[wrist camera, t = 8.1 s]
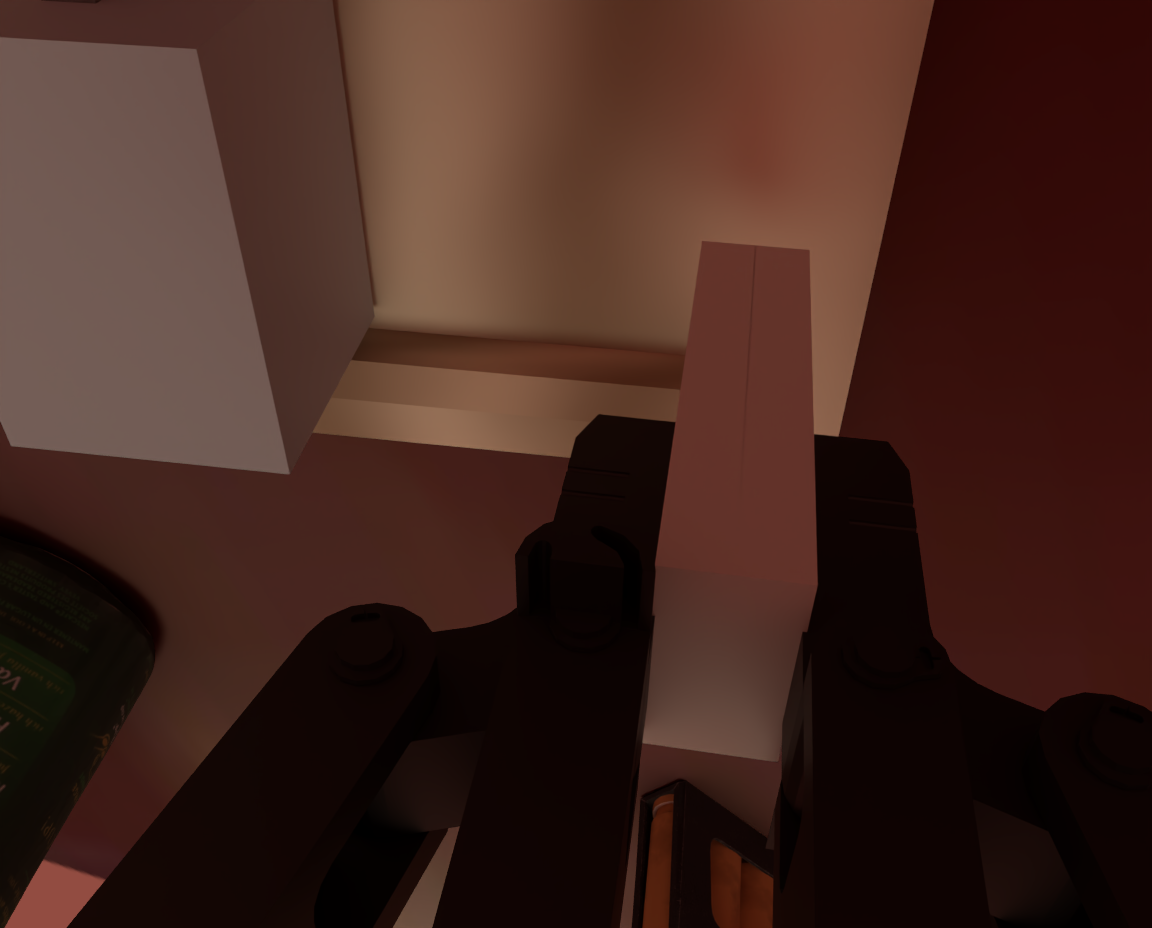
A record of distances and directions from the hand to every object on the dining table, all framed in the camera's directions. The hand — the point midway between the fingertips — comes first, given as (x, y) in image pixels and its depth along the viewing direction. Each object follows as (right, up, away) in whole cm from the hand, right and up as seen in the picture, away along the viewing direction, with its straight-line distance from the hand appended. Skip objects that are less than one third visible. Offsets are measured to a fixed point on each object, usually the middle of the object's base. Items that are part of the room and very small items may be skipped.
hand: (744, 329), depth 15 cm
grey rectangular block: (-9, +6, +3) cm, 11 cm away
